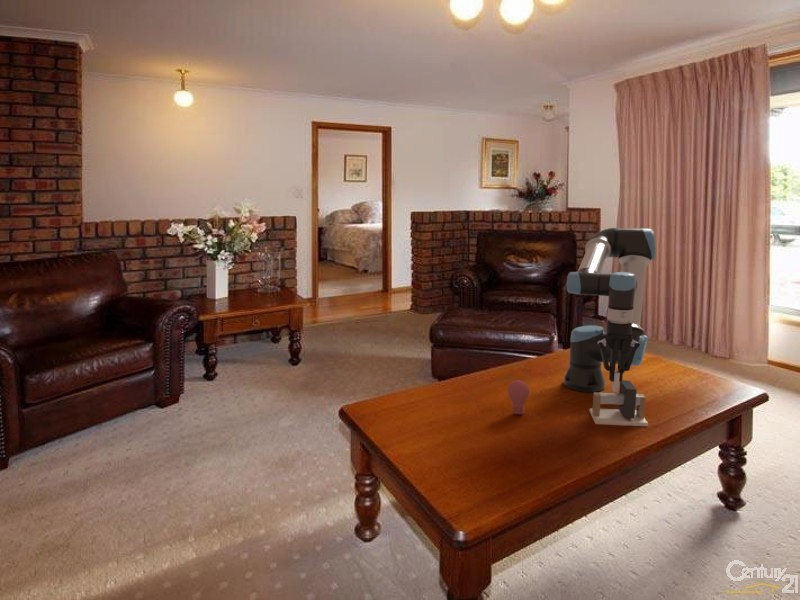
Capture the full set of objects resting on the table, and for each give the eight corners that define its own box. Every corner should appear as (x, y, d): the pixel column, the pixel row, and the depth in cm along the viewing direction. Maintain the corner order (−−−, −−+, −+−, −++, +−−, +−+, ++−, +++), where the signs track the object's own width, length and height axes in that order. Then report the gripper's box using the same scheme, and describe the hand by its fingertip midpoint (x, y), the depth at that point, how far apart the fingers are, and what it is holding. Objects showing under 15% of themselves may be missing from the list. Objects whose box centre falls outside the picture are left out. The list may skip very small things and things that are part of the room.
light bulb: (504, 410, 183) (505, 377, 181) (524, 409, 184) (525, 376, 181) (510, 418, 176) (511, 385, 174) (531, 417, 177) (532, 384, 174)
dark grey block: (624, 418, 171) (626, 389, 169) (618, 408, 178) (620, 380, 176) (634, 418, 170) (636, 389, 168) (627, 408, 178) (629, 380, 176)
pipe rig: (595, 424, 171) (597, 398, 170) (589, 411, 181) (590, 387, 179) (647, 426, 169) (649, 400, 167) (638, 413, 179) (640, 389, 177)
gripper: (601, 323, 166) (597, 394, 171) (644, 324, 164) (639, 395, 169) (595, 317, 173) (591, 385, 178) (637, 318, 171) (632, 386, 176)
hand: (614, 390), depth 173 cm, fingers closed
